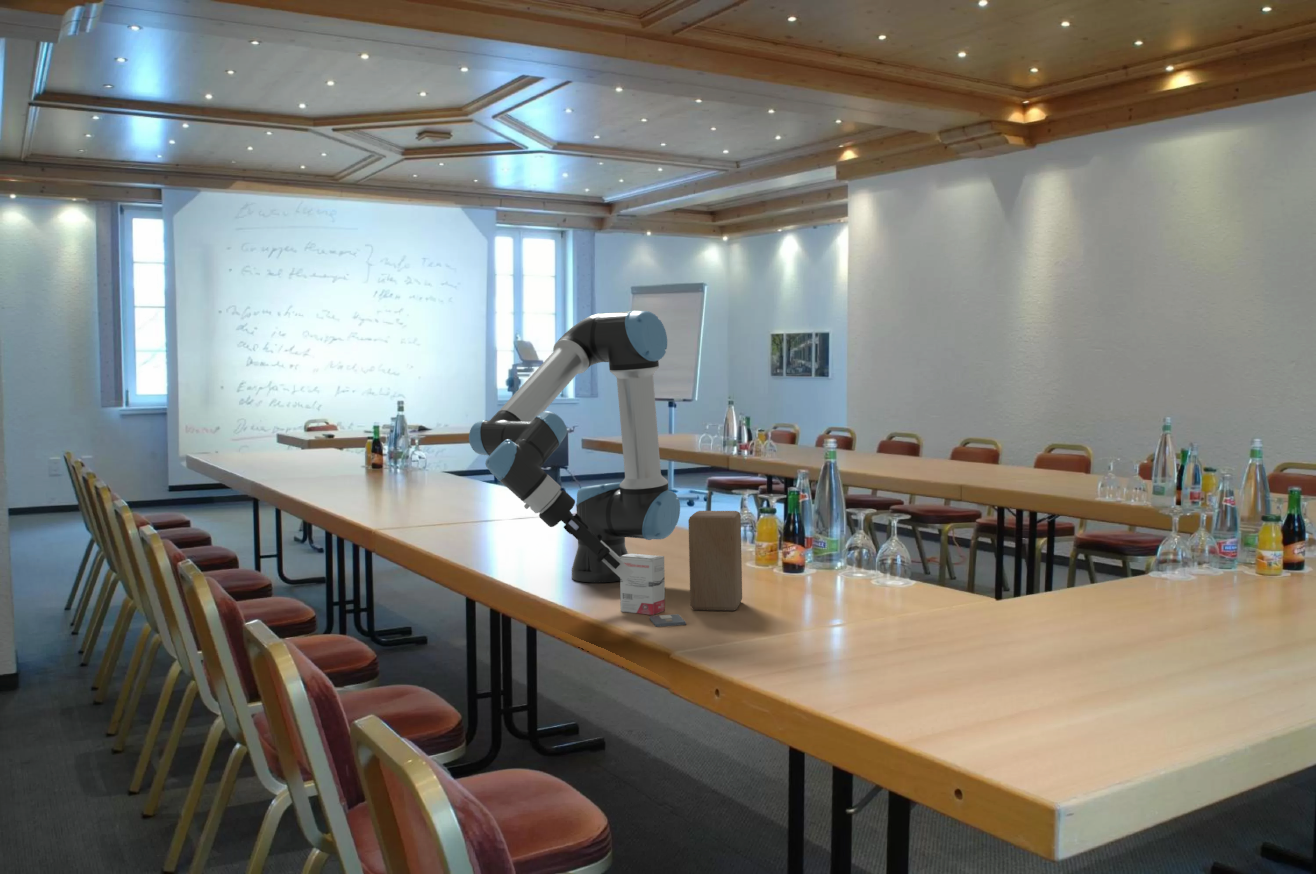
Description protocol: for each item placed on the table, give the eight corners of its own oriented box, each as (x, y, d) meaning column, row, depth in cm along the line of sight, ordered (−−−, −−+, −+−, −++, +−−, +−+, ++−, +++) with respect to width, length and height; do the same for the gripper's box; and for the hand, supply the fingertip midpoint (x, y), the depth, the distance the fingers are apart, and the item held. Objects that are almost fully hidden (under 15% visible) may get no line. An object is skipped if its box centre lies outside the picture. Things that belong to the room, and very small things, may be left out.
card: (649, 618, 216) (649, 615, 216) (678, 616, 217) (678, 613, 217) (656, 626, 209) (655, 622, 209) (685, 624, 210) (685, 620, 210)
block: (737, 612, 220) (735, 516, 219) (689, 611, 222) (687, 516, 221) (742, 601, 230) (741, 510, 229) (697, 600, 232) (695, 510, 231)
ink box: (666, 610, 223) (665, 554, 222) (653, 615, 219) (652, 558, 218) (632, 606, 228) (631, 552, 227) (619, 611, 223) (617, 555, 223)
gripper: (533, 508, 229) (603, 573, 233) (541, 523, 205) (620, 595, 208) (557, 482, 230) (626, 548, 233) (568, 494, 205) (646, 567, 209)
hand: (623, 570), depth 221 cm, fingers open, 13 cm apart
